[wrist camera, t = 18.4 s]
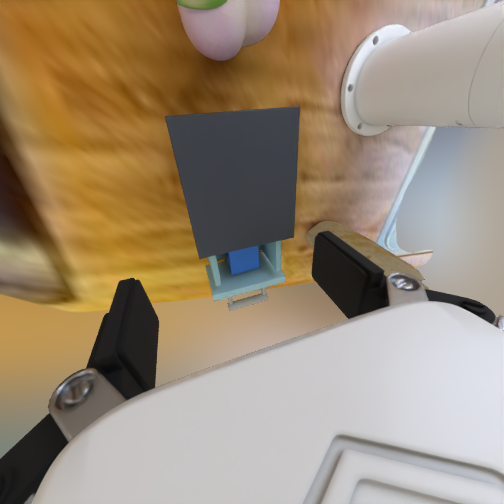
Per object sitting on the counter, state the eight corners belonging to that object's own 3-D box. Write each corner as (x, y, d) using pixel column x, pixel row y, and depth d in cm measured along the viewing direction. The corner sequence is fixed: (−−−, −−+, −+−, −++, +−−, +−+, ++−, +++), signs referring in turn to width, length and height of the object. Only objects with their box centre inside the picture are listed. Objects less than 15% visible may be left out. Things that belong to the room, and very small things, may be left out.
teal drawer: (268, 279, 43) (285, 307, 37) (212, 294, 41) (219, 327, 34) (265, 183, 33) (287, 198, 27) (189, 195, 30) (194, 215, 24)
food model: (296, 246, 42) (375, 324, 26) (309, 214, 39) (406, 280, 23) (334, 249, 46) (423, 319, 30) (348, 220, 43) (455, 281, 27)
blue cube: (249, 230, 35) (258, 243, 31) (251, 253, 37) (259, 268, 34) (222, 236, 34) (228, 250, 30) (225, 259, 36) (232, 275, 33)
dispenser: (267, 212, 37) (293, 237, 29) (192, 226, 34) (199, 259, 26) (264, 109, 29) (300, 106, 21) (166, 117, 26) (165, 116, 18)
